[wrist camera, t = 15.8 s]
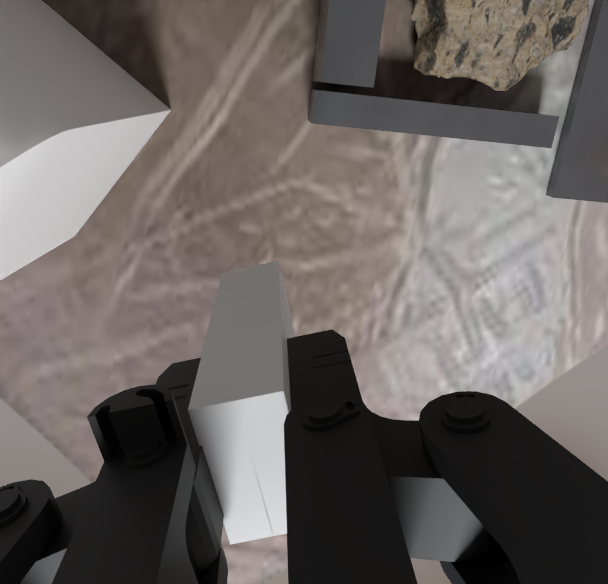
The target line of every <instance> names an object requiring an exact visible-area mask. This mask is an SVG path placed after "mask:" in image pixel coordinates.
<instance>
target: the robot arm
mask: <svg viewBox="0 0 608 584" xmlns="http://www.w3.org/2000/svg"><path fill="white" fill-rule="evenodd" d="M87 418H88V421H89V423H90V426H91V428H92V431H93V433H94V436H95V438H96V441H97V444H98V446H99V449H100V451H101V454H102V456H103V459H104V464H103V466H102V468H101V471H100V473H99V475H98V478H97V480H96V481H95V482H93V483H91V484H89V485H87V486H85V487H82V488H80V489H77V490H75V491H72V492H70V493H67V494H65V495H62V496H60V497H57V498H54V496H53V494H52V491H51V490H50V487H49V486H48V485H47V484H45V483H44V482H43V481H38V480H26V481H20V482H15V483H11V484H8V485H6V486H2V487H0V584H227V576H228V567H227V561H226V557H225V554H224V551H223V548H222V544H221V537H222V527H223V523H224V526H225V529H226V532H227V535H228V538H229V542H230V544H235V543H241V542H246V541H251V540H256V539H261V538H266V537H271V536H276V535H282V534H287V549H288V581H289V584H417V580H416V577H415V574H414V570H413V567H412V563H411V559H410V558H417V559H427V560H437V561H440V563H441V566H442V568H443V571H444V573H445V574H446V576H447V577H448V579H449V580H450V581H451V583H452V584H608V481H606V480H605V479H604V478H602V477H601V476H600V475H598V474H597V473H596V472H595V471H593V470H592V469H591V468H590V467H588V466H587V465H586V464H585V463H583V462H582V461H581V460H579V459H578V458H577V457H576V456H574V455H573V454H572V453H570V452H569V451H568V450H567V449H565V448H564V447H563V446H561V445H560V444H559V443H558V442H556V441H555V440H553V439H552V438H551V437H550V436H549V435H547V434H546V433H545V432H543V431H542V430H541V429H540V428H538V427H537V426H536V425H534V424H533V423H532V422H531V421H529V420H528V419H527V418H526V417H524V416H523V415H522V414H520V413H519V412H518V411H517V410H515V409H514V408H513V407H511V406H510V405H509V404H508V403H506V402H505V401H503V400H501V399H499V398H497V397H495V396H493V395H489V394H485V393H480V392H470V391H466V392H464V391H463V392H455V393H451V394H446V395H442V396H440V397H438V398H436V399H434V400H432V401H430V402H429V403H428V404H427V405H426V406H425V407H424V408H423V409H422V410H421V412H420V418H419V421H404V420H392V419H388V418H384V417H381V416H379V415H377V414H375V413H372V412H371V411H370V410H369V409H368V408H367V407H366V406H365V404H364V403H363V401H362V398H361V394H360V391H359V387H358V383H357V380H356V376H355V373H354V369H353V366H352V363H351V359H350V355H349V352H348V348H347V344H346V341H345V338H344V337H342V336H341V335H340V334H338V333H337V332H335V331H334V330H328V331H323V332H318V333H313V334H308V335H303V336H298V337H295V332H294V328H293V323H292V319H291V314H290V310H289V305H288V301H287V296H286V292H285V288H284V283H283V279H282V274H281V270H280V265H279V261H276V262H271V263H266V264H261V265H256V266H252V267H247V268H242V269H237V270H232V271H227V272H223V273H222V277H221V281H220V285H219V288H218V292H217V296H216V300H215V304H214V308H213V312H212V316H211V320H210V324H209V328H208V332H207V336H206V340H205V344H204V348H203V352H202V356H201V358H197V359H193V360H188V361H183V362H178V363H173V364H171V365H170V366H169V367H168V368H167V369H166V370H165V371H164V372H163V373H162V374H161V375H160V376H159V377H158V380H157V382H156V385H146V386H138V387H135V388H131V389H128V390H124V391H122V392H120V393H118V394H116V395H114V396H111V397H109V398H107V399H106V400H105V401H103V402H102V403H100V404H99V405H98V406H96V407H95V408H94V409H93V411H92V412H91V413H90V414H89V415H88V417H87Z"/></svg>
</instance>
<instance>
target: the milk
mask: <svg viewBox="0 0 608 584" xmlns="http://www.w3.org/2000/svg"><path fill="white" fill-rule="evenodd" d="M170 111H171V109H170V108H168V107H167V106H166V105H165V104H164V103H162V102H161V101H160V100H159V99H158V98H157V97H155V96H154V95H153V94H152V93H151V92H149V91H148V90H147V89H146V88H145V87H144V86H142V85H141V84H140V83H139V82H138V81H137V80H135V79H134V78H133V77H132V76H131V75H129V74H128V73H127V72H126V71H125V70H124V69H122V68H121V67H120V66H119V65H118V64H116V63H115V62H114V61H113V60H112V59H111V58H109V57H108V56H107V55H106V54H105V53H103V52H102V51H101V50H100V49H99V48H98V47H96V46H95V45H94V44H93V43H92V42H90V41H89V40H88V39H87V38H86V37H85V36H83V35H82V34H81V33H80V32H79V31H78V30H76V29H75V28H74V27H73V26H72V25H70V24H69V23H68V22H67V21H66V20H65V19H63V18H62V17H61V16H60V15H59V14H57V13H56V12H55V11H54V10H53V9H52V8H50V7H49V6H48V5H47V4H46V3H44V2H43V1H42V0H0V280H2V279H3V278H5V277H7V276H8V275H10V274H12V273H13V272H15V271H17V270H18V269H20V268H22V267H24V266H25V265H27V264H29V263H30V262H32V261H34V260H35V259H37V258H39V257H40V256H42V255H44V254H45V253H47V252H49V251H50V250H52V249H54V248H56V247H57V246H59V245H61V244H62V243H64V242H66V241H67V240H69V239H71V238H72V237H74V236H75V235H76V234H77V233H78V231H79V230H80V229H81V227H82V226H83V225H84V223H85V222H86V221H87V219H88V218H89V217H90V216H91V214H92V213H93V212H94V210H95V209H96V208H97V206H98V205H99V204H100V202H101V201H102V200H103V199H104V197H105V196H106V195H107V193H108V192H109V191H110V189H111V188H112V187H113V185H114V184H115V183H116V182H117V180H118V179H119V178H120V176H121V175H122V174H123V172H124V171H125V170H126V168H127V167H128V166H129V165H130V163H131V162H132V161H133V159H134V158H135V157H136V155H137V154H138V153H139V151H140V150H141V149H142V147H143V146H144V145H145V144H146V142H147V141H148V140H149V138H150V137H151V136H152V134H153V133H154V132H155V130H156V129H157V128H158V127H159V125H160V124H161V123H162V121H163V120H164V119H165V117H166V116H167V115H168V113H169V112H170Z"/></svg>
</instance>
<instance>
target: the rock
mask: <svg viewBox="0 0 608 584" xmlns="http://www.w3.org/2000/svg"><path fill="white" fill-rule="evenodd" d="M588 2H589V0H415V4H414V7H413V10H412V14H411V19H412V20H414V21H415V28H416V32H417V34H418V40H417V43H416V45H415V49H414V68H415V69H417V70H418V71H421V73H422V74H423V75H435V76H437V77H440V76H442V77H443V78H446V79H449V78H453V77H466V78H470V79H474V80H477V81H480V82H482V83H484V84H486V85H488V86H490V87H491V88H492V89H493V90H497V91H507V90H508V89H509V88H510V87H511V86H513V85H515V84H517V83H518V82H519V81H520V80H521V79H522V78H523V77H524V76H525V74H526V73H527V72H528V71H529V70H530V69H531V68H537V67H538V65H539V63H540V62H541V61H542V60H544V59H545V58H547V57H548V56H550V55H551V54H553V53H554V52H556V51H561V50H566V49H567V48H568V47H569V46H570V45H572V44H573V42H574V40H575V39H576V37H577V36H578V35H579V31H580V27H581V24H582V22H583V20H584V19H585V18H586V17H587V16H588V11H589V5H588Z"/></svg>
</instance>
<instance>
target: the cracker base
mask: <svg viewBox="0 0 608 584" xmlns="http://www.w3.org/2000/svg"><path fill="white" fill-rule="evenodd" d="M385 2H386V0H320V8H319V18H318V28H317V38H316V48H315V58H314V68H313V77H312V81H315V82H324V83H333V84H342V85H351V86H361V87H372V88H374V82H375V75H376V67H377V60H378V53H379V46H380V38H381V31H382V24H383V17H384V9H385ZM558 119H559V117H558V116H551V115H543V114H535V113H526V112H517V111H508V110H498V109H489V108H480V107H471V106H462V105H453V104H444V103H434V102H425V101H416V100H407V99H398V98H389V97H379V96H370V95H361V94H352V93H343V92H334V91H324V90H315V89H311V97H310V107H309V117H308V120H309V121H310V122H311V123H315V124H324V125H334V126H344V127H353V128H363V129H373V130H382V131H392V132H401V133H411V134H421V135H430V136H440V137H450V138H459V139H469V140H478V141H488V142H498V143H507V144H517V145H527V146H536V147H546V148H551V147H552V143H553V139H554V135H555V131H556V127H557V123H558ZM546 195H548V196H551V197H554V198H565V199H575V200H585V201H596V202H606V203H608V0H595V4H594V8H593V12H592V16H591V20H590V24H589V28H588V32H587V36H586V40H585V44H584V48H583V52H582V56H581V60H580V63H579V67H578V71H577V75H576V79H575V83H574V87H573V91H572V95H571V99H570V103H569V107H568V111H567V115H566V119H565V123H564V127H563V131H562V134H561V138H560V142H559V146H558V150H557V154H556V158H555V162H554V166H553V170H552V174H551V178H550V182H549V186H548V190H547V194H546Z"/></svg>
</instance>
